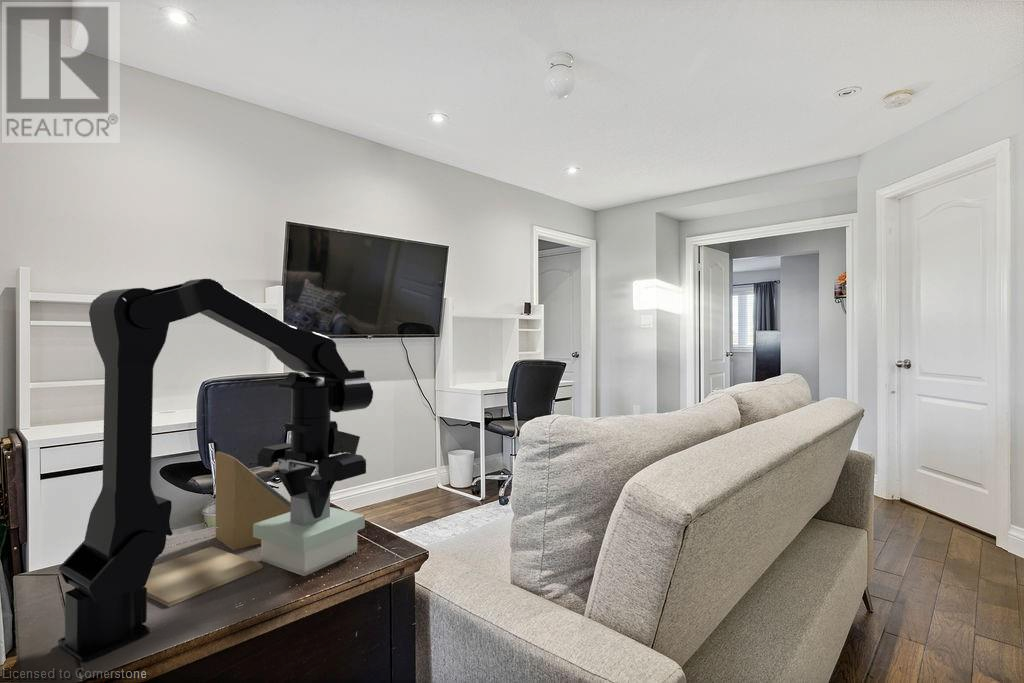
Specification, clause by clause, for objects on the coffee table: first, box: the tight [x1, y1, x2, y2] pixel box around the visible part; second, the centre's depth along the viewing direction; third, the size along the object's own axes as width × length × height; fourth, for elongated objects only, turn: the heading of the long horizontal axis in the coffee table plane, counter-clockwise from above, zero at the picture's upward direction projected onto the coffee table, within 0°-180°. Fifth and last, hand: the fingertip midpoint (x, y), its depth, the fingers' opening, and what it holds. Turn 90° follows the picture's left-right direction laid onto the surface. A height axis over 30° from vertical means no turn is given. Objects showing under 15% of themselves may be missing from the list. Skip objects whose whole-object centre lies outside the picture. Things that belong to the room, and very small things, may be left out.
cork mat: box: [144, 546, 263, 608], centre depth 75 cm, size 13×13×1 cm
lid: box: [253, 492, 366, 553], centre depth 82 cm, size 12×12×6 cm
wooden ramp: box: [215, 450, 291, 551], centre depth 92 cm, size 9×15×15 cm, turn 138°
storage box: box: [260, 531, 358, 577], centre depth 82 cm, size 10×10×5 cm
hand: (310, 515), depth 82 cm, fingers closed on lid, 3 cm apart
